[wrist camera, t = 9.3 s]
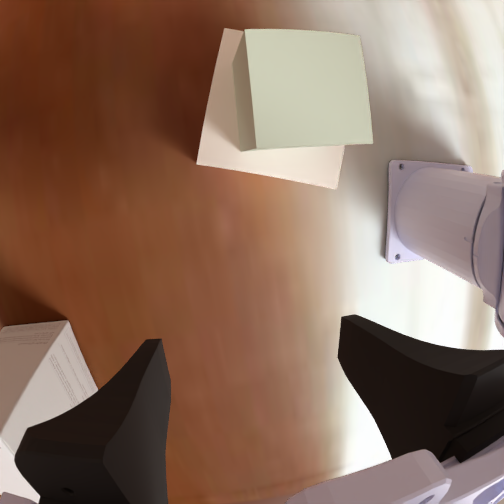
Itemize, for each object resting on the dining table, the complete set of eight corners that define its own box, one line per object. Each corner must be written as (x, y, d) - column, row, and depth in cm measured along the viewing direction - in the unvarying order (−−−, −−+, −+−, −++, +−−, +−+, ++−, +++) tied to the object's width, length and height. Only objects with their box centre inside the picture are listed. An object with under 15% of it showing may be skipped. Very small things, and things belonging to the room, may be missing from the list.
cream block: (332, 76, 20) (357, 63, 16) (313, 183, 22) (336, 189, 18) (219, 49, 18) (224, 28, 14) (196, 163, 20) (196, 164, 16)
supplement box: (2, 324, 20) (-75, 417, 8) (70, 317, 21) (-1, 435, 9) (34, 392, 22) (-12, 493, 10) (100, 391, 23) (68, 513, 11)
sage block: (320, 62, 16) (359, 35, 11) (329, 146, 17) (373, 143, 12) (232, 63, 15) (244, 29, 10) (240, 151, 16) (256, 148, 12)
